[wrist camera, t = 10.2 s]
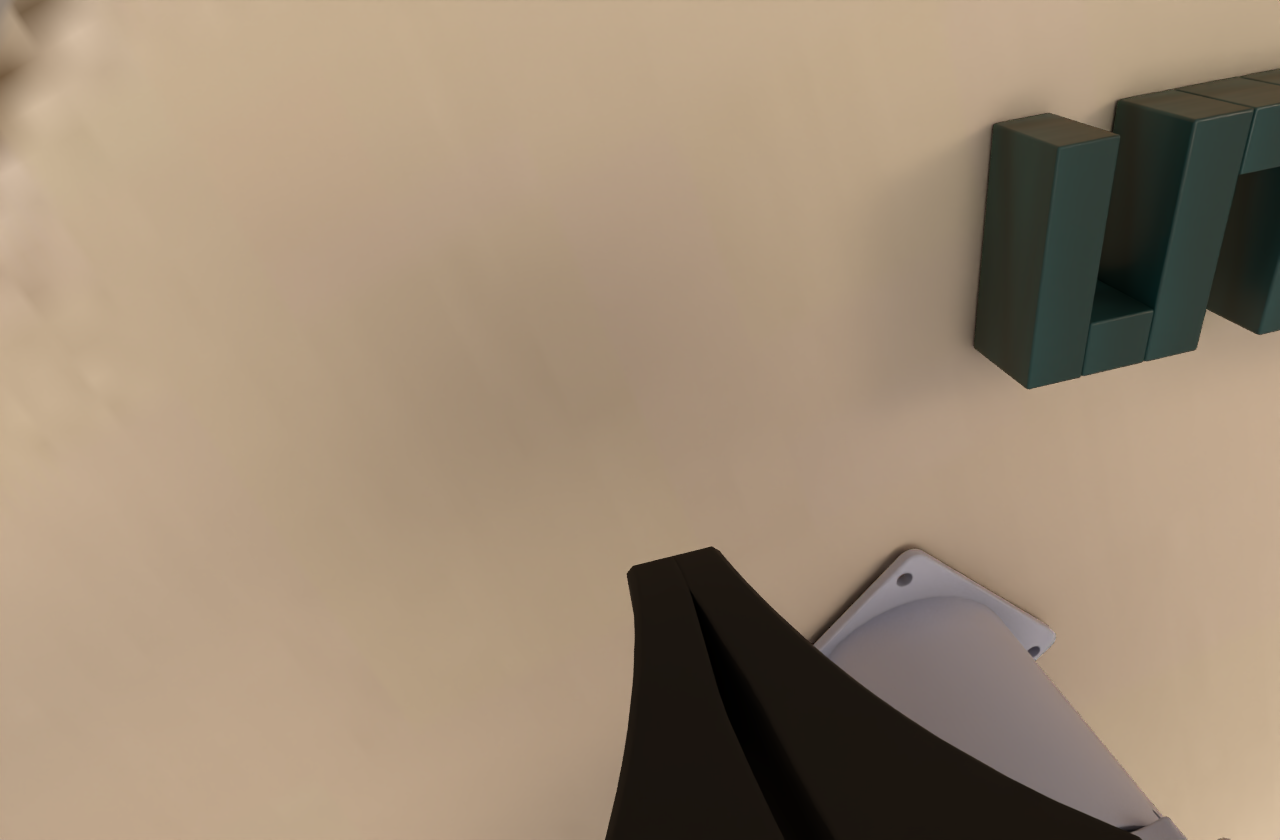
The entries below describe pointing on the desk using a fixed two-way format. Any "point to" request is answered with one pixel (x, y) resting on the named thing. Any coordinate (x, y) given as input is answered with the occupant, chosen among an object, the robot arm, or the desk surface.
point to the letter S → (1131, 230)
